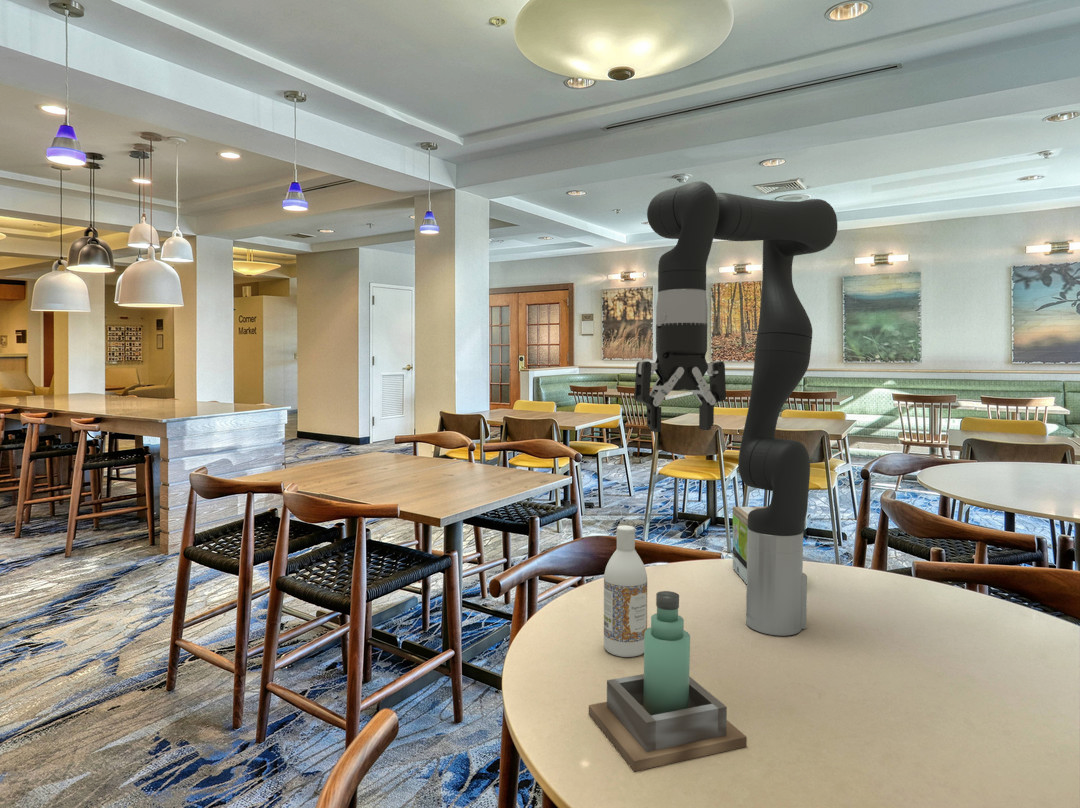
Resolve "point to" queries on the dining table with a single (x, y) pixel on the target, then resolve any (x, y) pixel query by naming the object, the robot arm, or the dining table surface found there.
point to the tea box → (741, 539)
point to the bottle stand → (663, 725)
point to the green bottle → (666, 658)
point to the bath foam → (625, 598)
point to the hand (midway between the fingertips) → (680, 430)
